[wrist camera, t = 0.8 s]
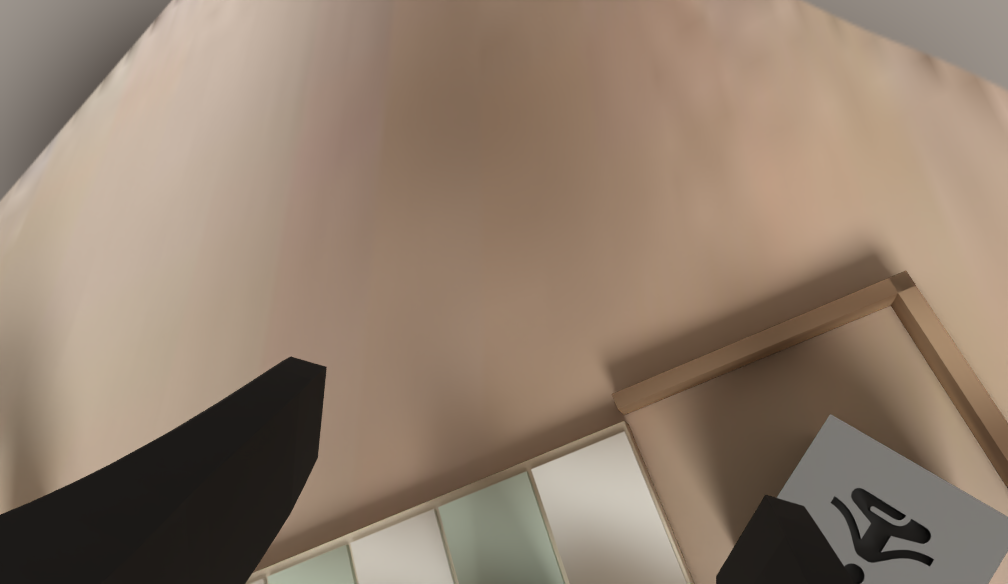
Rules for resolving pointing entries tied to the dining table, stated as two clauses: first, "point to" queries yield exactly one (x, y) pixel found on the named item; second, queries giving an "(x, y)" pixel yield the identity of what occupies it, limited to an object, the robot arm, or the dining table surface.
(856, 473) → the grey symbol block
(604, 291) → the dining table surface
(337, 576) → the board
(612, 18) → the dining table surface
